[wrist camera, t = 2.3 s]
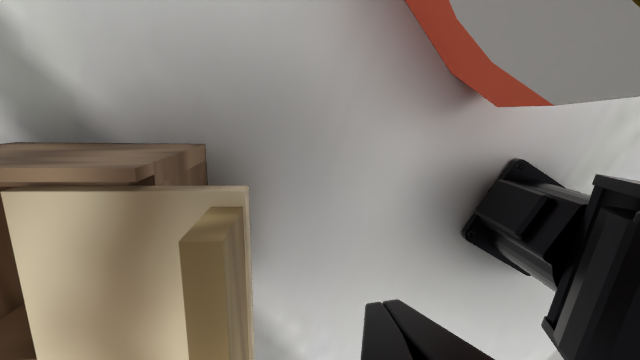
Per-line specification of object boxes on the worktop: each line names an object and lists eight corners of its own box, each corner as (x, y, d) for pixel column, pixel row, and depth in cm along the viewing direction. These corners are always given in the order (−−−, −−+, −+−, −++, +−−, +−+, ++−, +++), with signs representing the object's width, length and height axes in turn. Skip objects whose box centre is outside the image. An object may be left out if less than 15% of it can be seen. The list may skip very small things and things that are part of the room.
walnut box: (204, 144, 19) (134, 168, 11) (214, 288, 21) (161, 398, 13) (16, 142, 18) (-214, 167, 10) (46, 292, 20) (-123, 413, 12)
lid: (248, 185, 12) (225, 220, 8) (254, 357, 14) (237, 453, 10) (22, 185, 12) (-120, 224, 8) (58, 365, 14) (-42, 471, 10)
